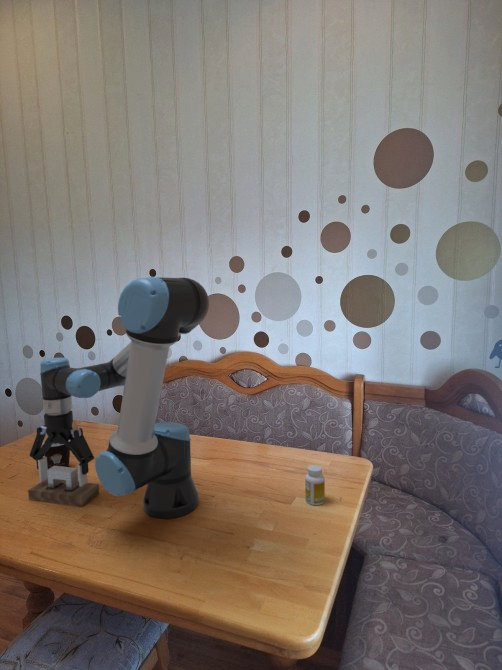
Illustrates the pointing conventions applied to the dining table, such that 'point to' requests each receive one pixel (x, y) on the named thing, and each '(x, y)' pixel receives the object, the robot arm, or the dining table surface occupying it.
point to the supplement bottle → (315, 486)
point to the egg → (74, 425)
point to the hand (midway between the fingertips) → (63, 482)
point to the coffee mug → (57, 455)
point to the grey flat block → (63, 494)
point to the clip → (63, 477)
